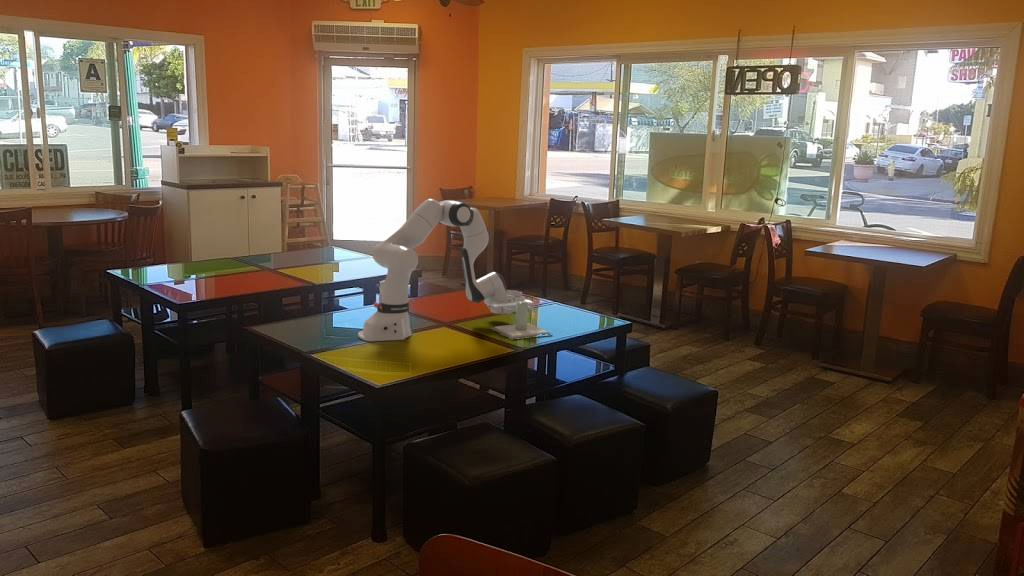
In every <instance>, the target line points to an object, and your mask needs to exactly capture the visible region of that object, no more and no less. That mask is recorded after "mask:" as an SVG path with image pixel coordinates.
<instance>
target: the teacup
mask: <svg viewBox="0 0 1024 576" xmlns="http://www.w3.org/2000/svg"><path fill="white" fill-rule="evenodd" d="M506 294H507V295H512V296H522V297H523V292H522V291H518V290H513V289H507V291H506Z"/></svg>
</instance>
